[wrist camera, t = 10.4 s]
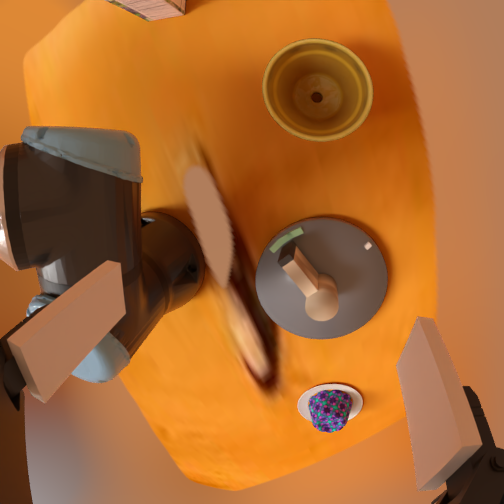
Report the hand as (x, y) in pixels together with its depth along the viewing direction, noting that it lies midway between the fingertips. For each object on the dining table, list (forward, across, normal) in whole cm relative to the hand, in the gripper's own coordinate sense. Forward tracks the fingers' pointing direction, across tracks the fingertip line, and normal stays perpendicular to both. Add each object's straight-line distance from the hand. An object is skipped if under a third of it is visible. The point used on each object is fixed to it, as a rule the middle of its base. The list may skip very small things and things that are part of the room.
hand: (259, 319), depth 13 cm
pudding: (+29, -12, +37) cm, 49 cm away
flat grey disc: (+29, -5, +12) cm, 32 cm away
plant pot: (+29, -1, -12) cm, 31 cm away
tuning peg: (+27, -3, +10) cm, 29 cm away
